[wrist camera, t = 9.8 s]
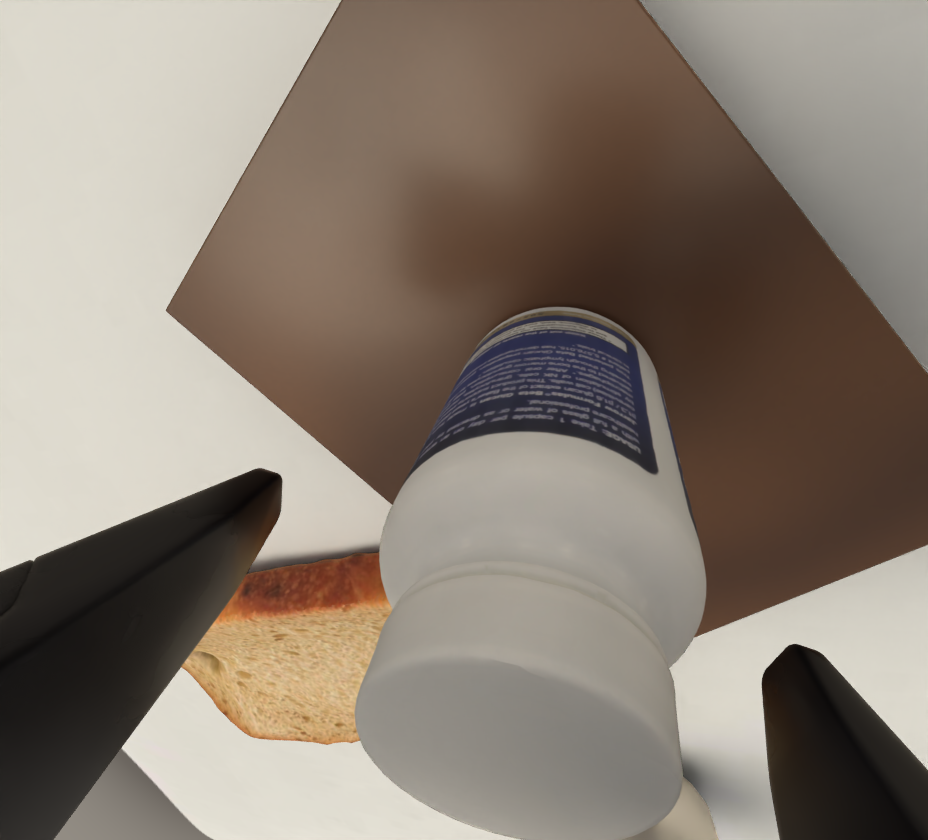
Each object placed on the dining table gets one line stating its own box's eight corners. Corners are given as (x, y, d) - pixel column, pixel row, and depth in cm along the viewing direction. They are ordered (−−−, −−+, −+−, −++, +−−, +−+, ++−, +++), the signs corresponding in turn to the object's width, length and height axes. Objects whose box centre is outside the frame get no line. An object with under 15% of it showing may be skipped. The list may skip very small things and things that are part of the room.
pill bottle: (425, 376, 15) (218, 687, 7) (579, 257, 12) (550, 523, 4) (539, 502, 16) (482, 890, 8) (699, 418, 14) (855, 857, 6)
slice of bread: (548, 573, 22) (540, 649, 19) (441, 762, 31) (423, 834, 28) (162, 425, 22) (91, 475, 19) (172, 654, 32) (126, 713, 29)
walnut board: (959, 443, 16) (1030, 505, 13) (594, 615, 22) (593, 678, 20) (495, -148, 11) (466, -224, 9) (223, 284, 18) (164, 310, 16)
